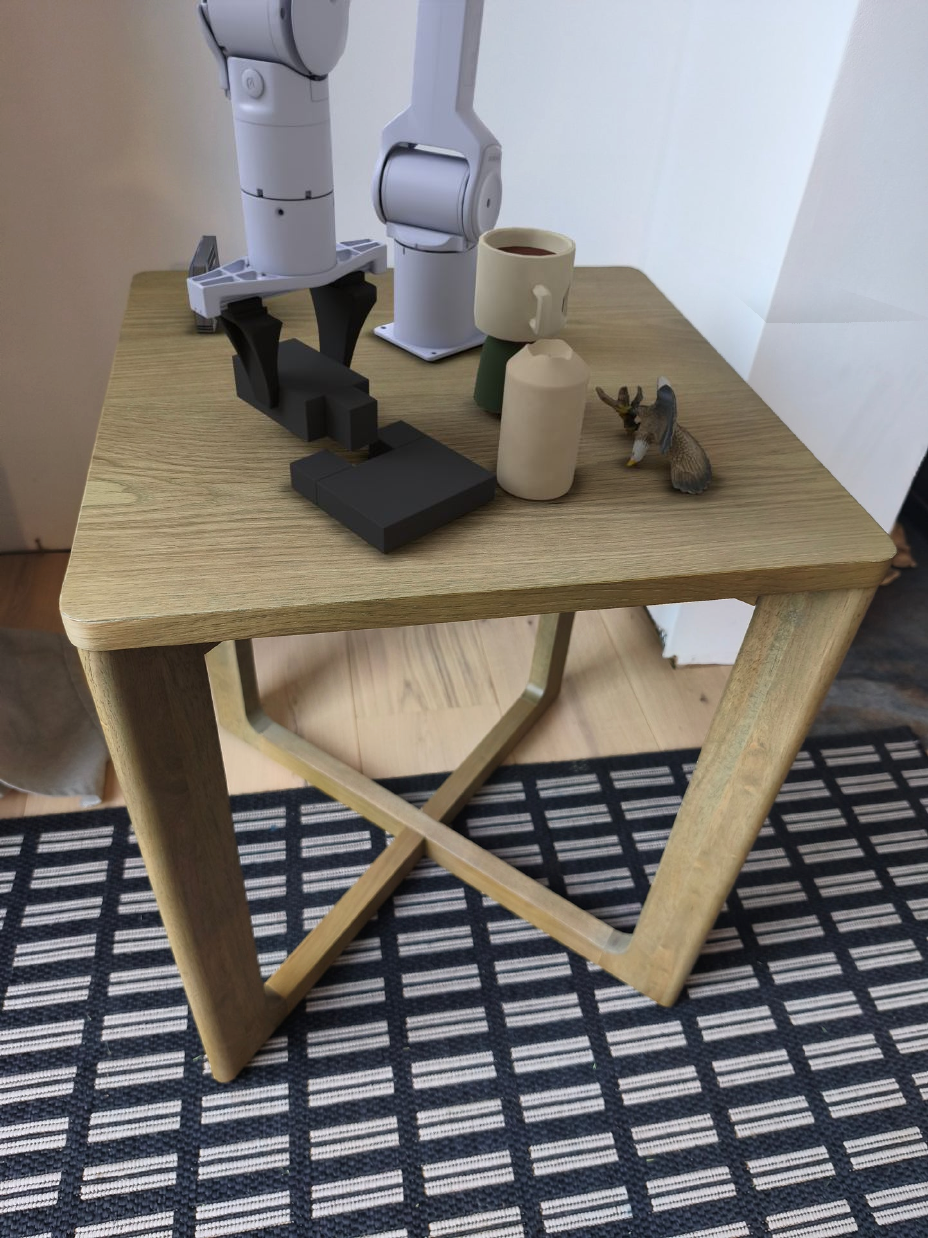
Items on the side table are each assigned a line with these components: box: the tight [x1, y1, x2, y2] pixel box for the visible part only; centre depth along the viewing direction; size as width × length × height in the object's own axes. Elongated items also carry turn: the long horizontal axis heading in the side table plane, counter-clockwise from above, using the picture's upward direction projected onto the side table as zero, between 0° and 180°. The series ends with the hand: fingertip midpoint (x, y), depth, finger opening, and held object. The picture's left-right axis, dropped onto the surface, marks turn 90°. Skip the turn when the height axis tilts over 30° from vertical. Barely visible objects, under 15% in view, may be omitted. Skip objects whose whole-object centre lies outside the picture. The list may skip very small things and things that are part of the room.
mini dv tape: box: [188, 235, 221, 333], centre depth 79 cm, size 8×2×6 cm, turn 6°
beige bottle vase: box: [496, 338, 591, 501], centre depth 58 cm, size 6×6×10 cm
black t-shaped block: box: [231, 337, 379, 453], centre depth 61 cm, size 6×12×3 cm, turn 44°
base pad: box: [289, 419, 498, 555], centre depth 59 cm, size 10×10×2 cm
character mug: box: [472, 226, 577, 414], centre depth 66 cm, size 11×7×13 cm, turn 14°
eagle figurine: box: [595, 375, 713, 495], centre depth 63 cm, size 8×7×9 cm
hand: (302, 390), depth 62 cm, fingers closed on black t-shaped block, 5 cm apart
